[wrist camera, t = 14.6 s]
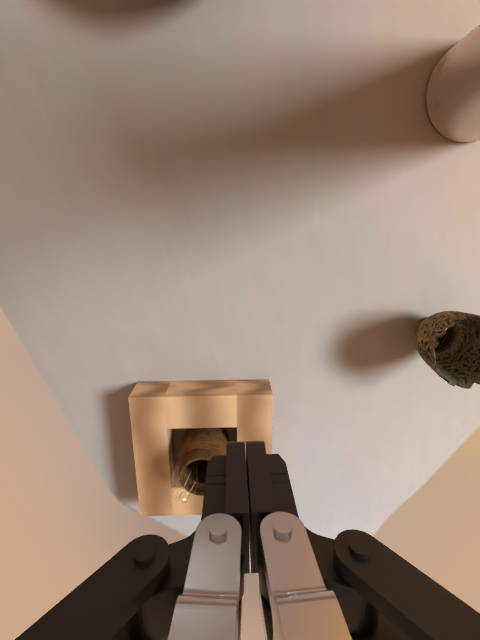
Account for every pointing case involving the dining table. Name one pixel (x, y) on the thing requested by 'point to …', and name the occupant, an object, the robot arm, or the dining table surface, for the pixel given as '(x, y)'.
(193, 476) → the utensil holder
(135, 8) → the dining table surface
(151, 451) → the oak socket block
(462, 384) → the cup
